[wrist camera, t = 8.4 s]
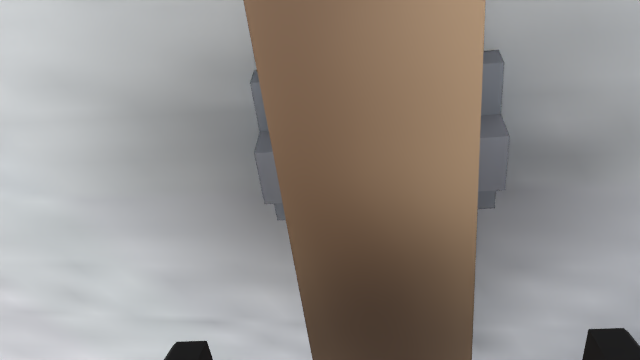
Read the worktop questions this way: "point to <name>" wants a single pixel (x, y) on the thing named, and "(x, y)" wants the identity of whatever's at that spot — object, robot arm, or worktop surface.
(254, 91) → the fulcrum
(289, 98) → the batten
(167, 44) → the worktop surface
